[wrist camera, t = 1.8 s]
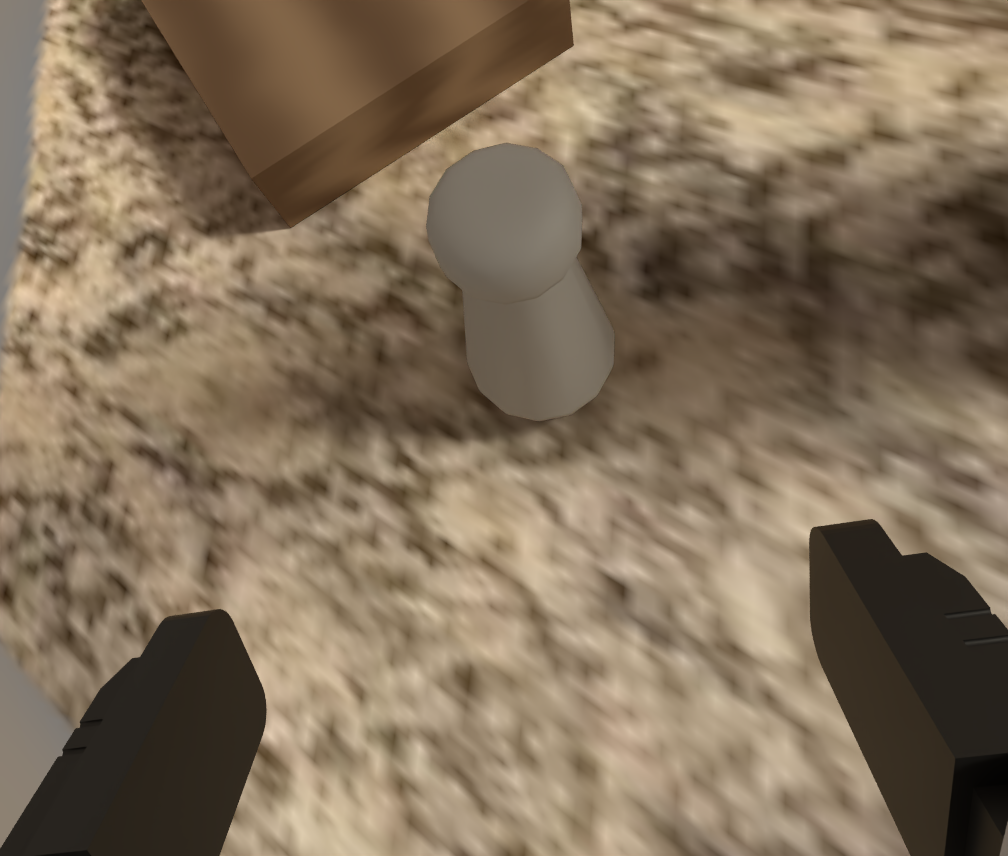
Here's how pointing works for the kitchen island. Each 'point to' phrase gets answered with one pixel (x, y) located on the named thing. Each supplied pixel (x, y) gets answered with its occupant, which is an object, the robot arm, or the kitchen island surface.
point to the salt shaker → (521, 281)
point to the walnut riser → (349, 78)
